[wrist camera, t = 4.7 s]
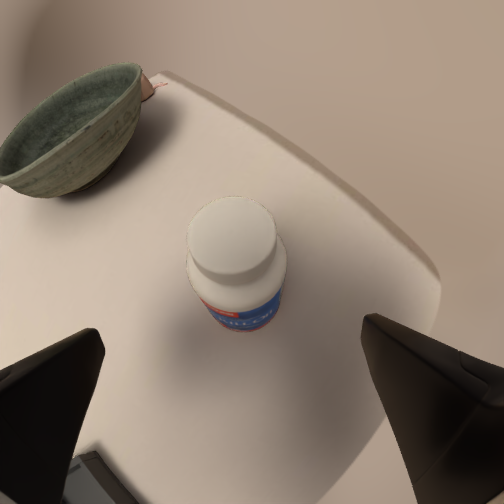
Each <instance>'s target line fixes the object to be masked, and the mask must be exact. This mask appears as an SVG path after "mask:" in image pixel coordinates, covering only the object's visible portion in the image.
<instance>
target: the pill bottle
mask: <svg viewBox="0 0 504 504" xmlns="http://www.w3.org/2000/svg"><path fill="white" fill-rule="evenodd" d="M187 245H188V249H189V250H188V254H187V260H186V267H187V274H188V278H189V281H190V283H191V285H192V287H193V288H194V290H195V292H196V293H197V295H198V296H199V297H200V299H201V300H202V302H203V303H204V304H205V306H206V307H207V308H208V310H209V311H210V312H211V314H212V315H213V317H214V318H215V319H216V320H217V321H218V322H219V323H220V324H221V325H223V326H224V327H226V328H228V329H230V330H233V331H238V332H250V331H254V330H257V329H260V328H261V327H263V326H265V325H266V324H267V323H268V322H270V320H271V319H272V318H273V317H274V315H275V314H276V312H277V310H278V307H279V304H280V299H281V294H282V289H283V285H284V280H285V275H286V269H287V254H286V250H285V247H284V244H283V242H282V240H281V238H280V237H279V235H278V234H277V230H276V224H275V221H274V219H273V217H272V215H271V214H270V212H269V211H268V210H267V209H266V208H265V207H264V206H263V205H261V204H260V203H258V202H256V201H254V200H252V199H249V198H245V197H239V196H229V197H223V198H220V199H216V200H214V201H212V202H210V203H208V204H206V205H205V206H204V207H202V208H201V209H200V210H199V211H198V212H197V213H196V214H195V216H194V217H193V219H192V220H191V222H190V224H189V227H188V231H187Z"/></svg>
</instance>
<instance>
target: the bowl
mask: <svg viewBox="0 0 504 504" xmlns="http://www.w3.org/2000/svg"><path fill="white" fill-rule="evenodd" d="M141 77H142V69H141V67H140V66H139V65H138V64H135V63H118V64H113V65H109V66H105V67H102V68H100V69H97V70H94V71H92V72H89V73H88V74H85V75H83V76H81V77H79V78H77V79H75V80H73V81H72V82H70V83H68V84H66V85H65V86H63V87H62V88H60V89H59V90H57V91H56V92H54V93H53V94H52V95H50V96H49V97H47V98H46V99H45V100H43V101H42V102H41V103H40V104H39V105H37V106H36V107H35V108H34V109H33V110H32V111H31V112H30V113H29V114H27V115H26V116H25V117H24V118H23V119H22V120H21V121H20V122H19V124H18V125H17V126H16V127H15V128H14V130H13V131H12V132H11V133H10V135H9V136H8V137H7V138H6V140H5V141H4V143H3V144H2V146H1V147H0V183H2V184H4V185H7V186H9V187H10V188H12V189H13V190H15V191H17V192H18V193H20V194H24V195H27V196H31V197H35V198H52V197H56V196H60V195H64V194H67V193H69V192H77V191H81V190H84V189H86V188H88V187H90V186H91V185H93V184H95V183H96V182H97V181H99V180H100V179H101V178H102V177H103V176H105V175H106V174H107V173H108V172H109V170H110V169H111V168H112V167H113V165H114V164H115V163H116V161H117V159H118V158H119V155H120V153H121V152H122V150H123V149H124V148H125V146H126V145H127V143H128V142H129V140H130V138H131V137H132V135H133V133H134V130H135V128H136V125H137V122H138V120H139V115H140V108H141Z"/></svg>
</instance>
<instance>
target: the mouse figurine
mask: <svg viewBox="0 0 504 504" xmlns="http://www.w3.org/2000/svg"><path fill="white" fill-rule="evenodd" d="M166 84H168V83H158V84H155V85H154V86H152V85H151V83H150V82H149V80H148V79H147V78H146V76H145V75H144V74H143V73H142V77H141V101H144V100H146V99H147V98H148V97H150V96H151V95H152V94H153V90H154V89H155V88H156V87H158V86H164V85H166Z"/></svg>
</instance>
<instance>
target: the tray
mask: <svg viewBox="0 0 504 504" xmlns="http://www.w3.org/2000/svg"><path fill="white" fill-rule="evenodd" d="M65 481H66V484H65V488H64V493H63V497H62V502H61V504H139V503H138V502H137V501H136V500H135V499H134V498H133V496H132V495H131V494H130V493H129V492H128V491H127V490H126V489H125V488H124V486H123V485H122V484H121V483H120V482H119V481H118V479H117V478H116V477H115V476H114V474H113V473H112V472H111V471H110V469H109V468H108V467H107V466H106V464H105V463H104V462H103V460H102V459H101V458H100V456H99V455H98V453H97V452H96V451H93V452H90V453H86V454H82V455H78V456H76V457H75V458H73V459H72V460H71V464H70V467H69V471H68V475H67V479H66V480H65Z"/></svg>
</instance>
